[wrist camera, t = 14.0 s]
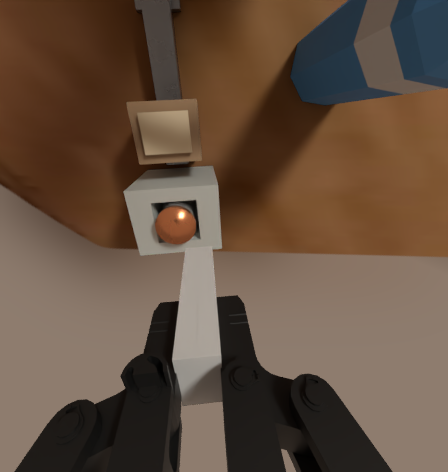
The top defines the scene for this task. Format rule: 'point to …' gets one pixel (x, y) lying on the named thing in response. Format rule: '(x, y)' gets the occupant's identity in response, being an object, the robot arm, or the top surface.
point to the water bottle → (374, 51)
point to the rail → (162, 47)
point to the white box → (170, 190)
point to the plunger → (176, 222)
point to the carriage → (165, 130)
